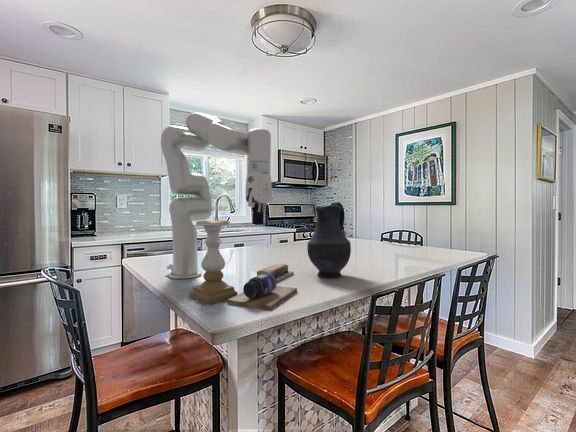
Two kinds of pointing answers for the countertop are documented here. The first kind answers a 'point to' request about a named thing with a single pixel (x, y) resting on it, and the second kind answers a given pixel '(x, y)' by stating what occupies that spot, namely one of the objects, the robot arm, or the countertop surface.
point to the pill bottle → (260, 285)
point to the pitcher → (329, 242)
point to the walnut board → (264, 298)
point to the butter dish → (277, 271)
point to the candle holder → (213, 268)
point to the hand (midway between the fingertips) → (257, 224)
